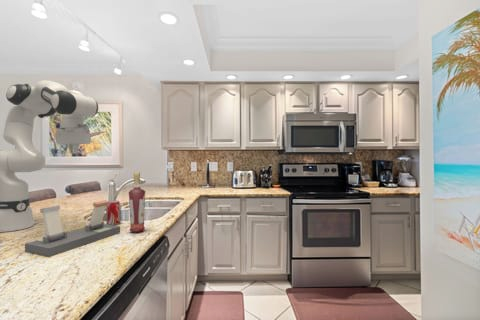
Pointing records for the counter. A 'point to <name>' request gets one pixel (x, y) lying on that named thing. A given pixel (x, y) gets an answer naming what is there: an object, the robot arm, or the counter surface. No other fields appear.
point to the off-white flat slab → (98, 214)
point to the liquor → (137, 206)
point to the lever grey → (52, 222)
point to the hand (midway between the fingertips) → (73, 153)
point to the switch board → (70, 240)
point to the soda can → (113, 213)
